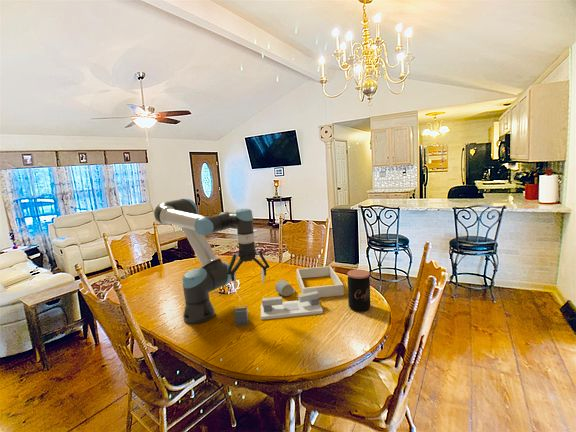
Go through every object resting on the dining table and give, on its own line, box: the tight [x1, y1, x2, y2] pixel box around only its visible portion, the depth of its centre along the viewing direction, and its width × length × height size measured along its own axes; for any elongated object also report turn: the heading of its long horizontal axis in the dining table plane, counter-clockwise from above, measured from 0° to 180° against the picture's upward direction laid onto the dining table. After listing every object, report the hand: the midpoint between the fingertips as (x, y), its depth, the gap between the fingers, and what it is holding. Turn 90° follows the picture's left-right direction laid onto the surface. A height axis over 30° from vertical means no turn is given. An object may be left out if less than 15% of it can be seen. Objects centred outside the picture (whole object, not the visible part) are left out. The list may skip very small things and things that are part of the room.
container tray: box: [296, 265, 345, 299], centre depth 187 cm, size 22×32×6 cm
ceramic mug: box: [275, 279, 296, 298], centre depth 178 cm, size 11×8×8 cm
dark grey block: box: [233, 305, 249, 327], centre depth 149 cm, size 6×6×8 cm
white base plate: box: [260, 291, 324, 321], centre depth 159 cm, size 30×14×7 cm, turn 95°
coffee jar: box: [346, 268, 371, 313], centre depth 155 cm, size 11×11×18 cm
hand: (249, 284), depth 152 cm, fingers open, 13 cm apart
